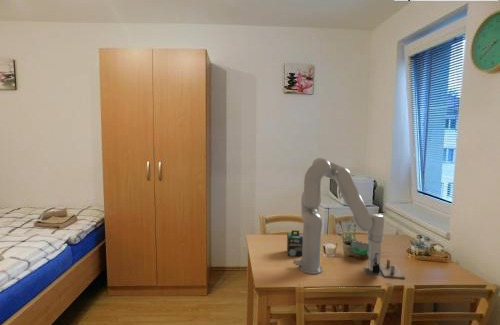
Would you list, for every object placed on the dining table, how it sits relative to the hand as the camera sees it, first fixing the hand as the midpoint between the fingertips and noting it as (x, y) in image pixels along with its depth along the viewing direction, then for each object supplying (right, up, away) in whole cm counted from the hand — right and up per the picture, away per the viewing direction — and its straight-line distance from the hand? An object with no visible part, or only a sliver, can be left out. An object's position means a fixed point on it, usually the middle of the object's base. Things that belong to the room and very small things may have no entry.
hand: (373, 268), depth 165 cm
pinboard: (+9, -2, +1) cm, 9 cm away
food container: (-1, -1, +19) cm, 20 cm away
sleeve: (0, -2, 0) cm, 2 cm away
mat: (0, -2, 0) cm, 2 cm away
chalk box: (-39, +1, +24) cm, 46 cm away
